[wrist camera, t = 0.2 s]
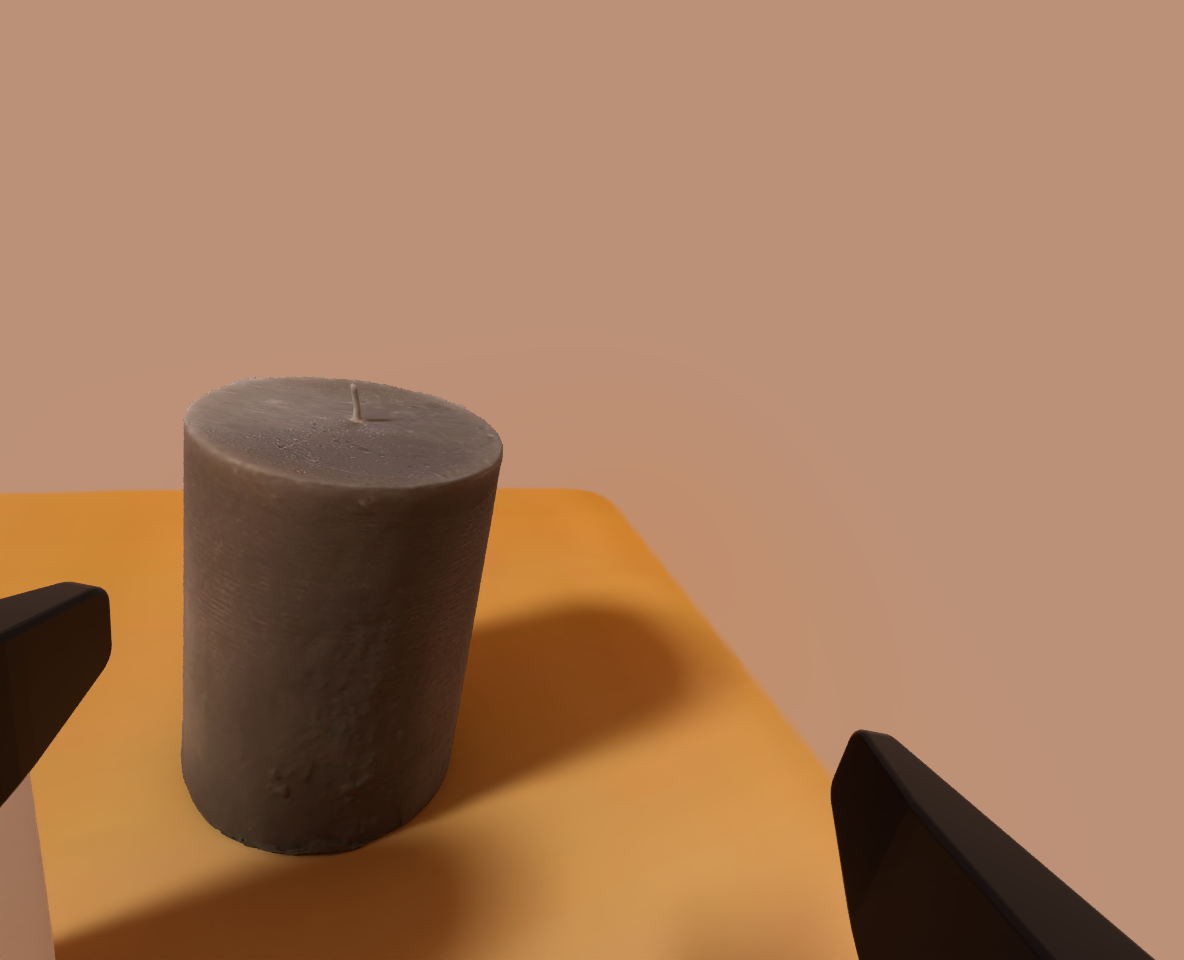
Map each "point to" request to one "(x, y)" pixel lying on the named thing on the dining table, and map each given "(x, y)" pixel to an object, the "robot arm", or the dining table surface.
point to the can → (22, 882)
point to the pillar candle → (327, 603)
